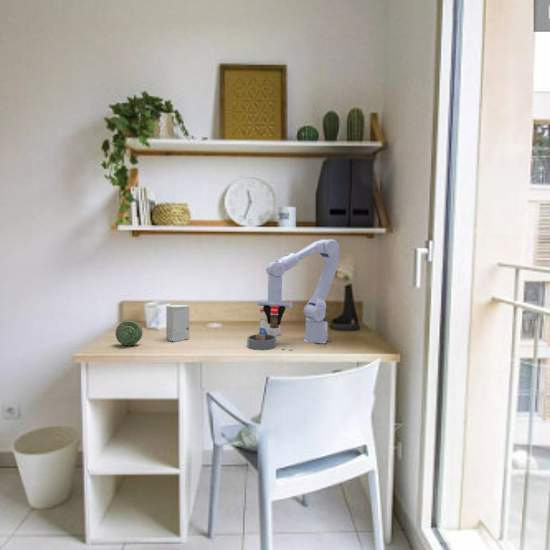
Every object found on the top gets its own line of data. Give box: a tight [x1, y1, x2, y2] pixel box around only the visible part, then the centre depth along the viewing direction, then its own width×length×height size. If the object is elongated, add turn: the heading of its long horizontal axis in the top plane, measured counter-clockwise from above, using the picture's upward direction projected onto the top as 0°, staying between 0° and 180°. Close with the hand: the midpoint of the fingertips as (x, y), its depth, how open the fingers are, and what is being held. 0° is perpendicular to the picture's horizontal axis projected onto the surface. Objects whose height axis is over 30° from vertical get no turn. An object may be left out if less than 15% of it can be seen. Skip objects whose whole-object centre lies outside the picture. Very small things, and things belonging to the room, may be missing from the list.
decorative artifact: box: [115, 319, 143, 346], centre depth 165 cm, size 10×7×10 cm
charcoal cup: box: [246, 333, 277, 351], centre depth 167 cm, size 11×11×4 cm
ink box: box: [259, 306, 281, 337], centre depth 189 cm, size 8×5×15 cm, turn 62°
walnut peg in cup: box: [255, 333, 265, 341], centre depth 164 cm, size 4×4×5 cm
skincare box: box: [165, 304, 190, 343], centre depth 177 cm, size 8×6×15 cm
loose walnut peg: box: [270, 315, 279, 328], centre depth 171 cm, size 4×4×5 cm
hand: (274, 324), depth 171 cm, fingers closed on loose walnut peg, 4 cm apart
